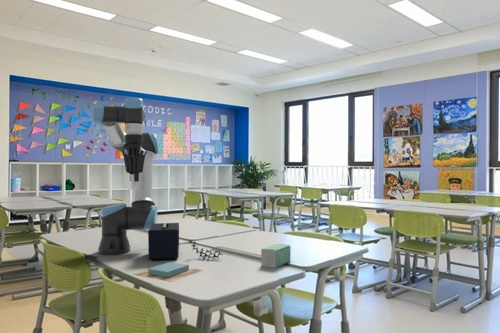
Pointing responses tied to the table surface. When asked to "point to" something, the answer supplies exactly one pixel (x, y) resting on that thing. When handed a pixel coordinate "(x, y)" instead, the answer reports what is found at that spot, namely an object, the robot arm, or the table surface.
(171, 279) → the mat
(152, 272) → the tile
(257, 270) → the table surface
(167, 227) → the speaker
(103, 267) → the table surface
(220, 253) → the molecular model
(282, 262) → the box
